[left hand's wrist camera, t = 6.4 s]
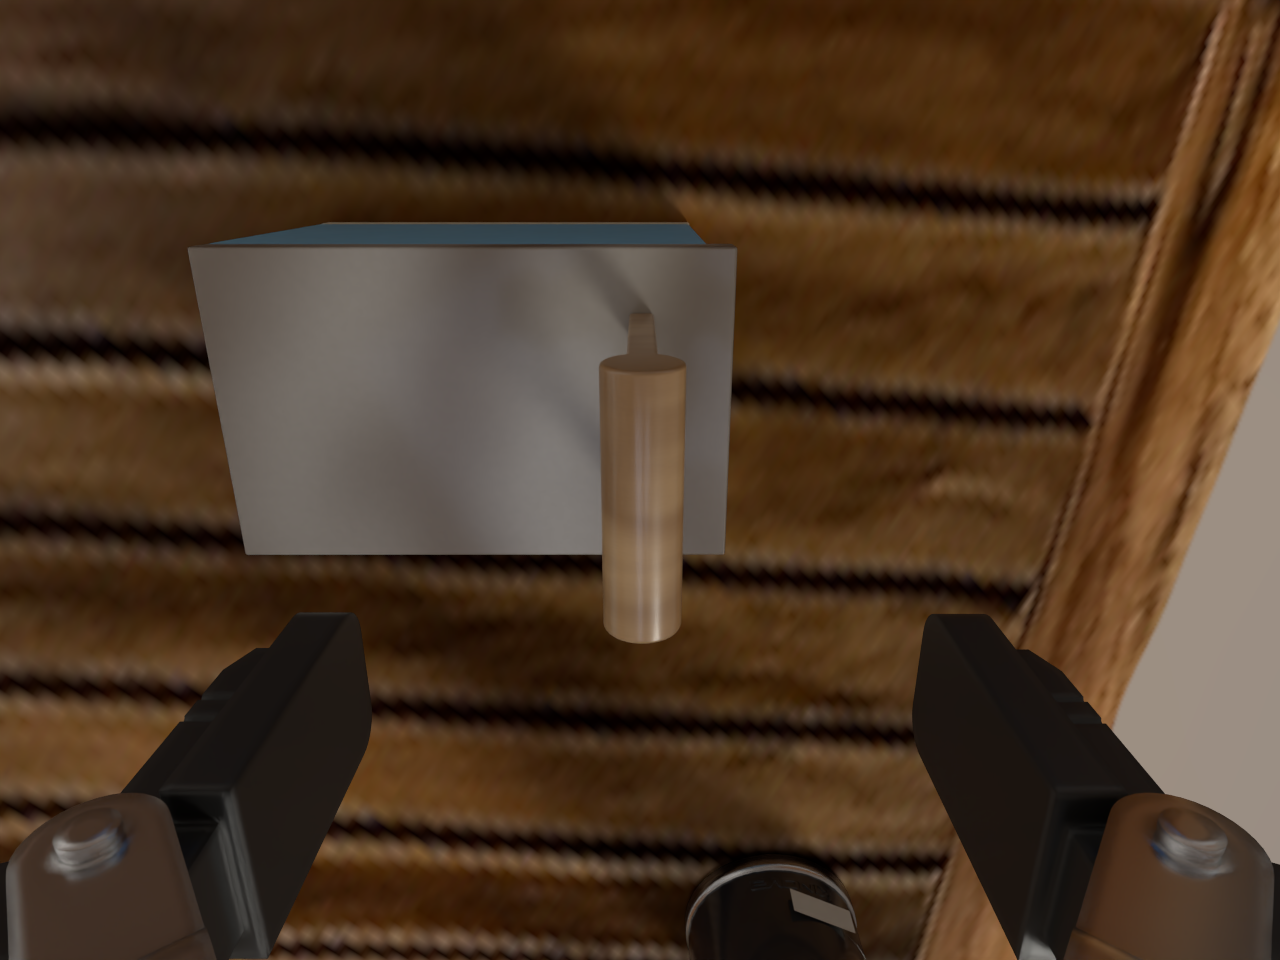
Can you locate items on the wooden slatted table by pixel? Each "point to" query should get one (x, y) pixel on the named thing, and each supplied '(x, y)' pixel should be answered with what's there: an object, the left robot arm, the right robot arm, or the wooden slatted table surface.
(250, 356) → the lid
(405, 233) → the chest
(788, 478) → the wooden slatted table surface
